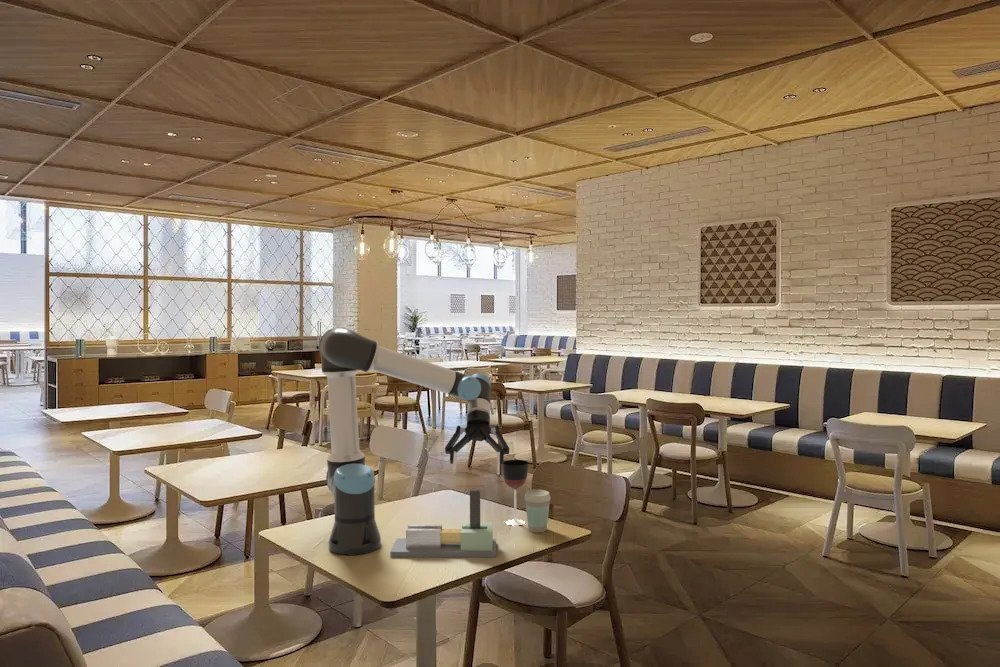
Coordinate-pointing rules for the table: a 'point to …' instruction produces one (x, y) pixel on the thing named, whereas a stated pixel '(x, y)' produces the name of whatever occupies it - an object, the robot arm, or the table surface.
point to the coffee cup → (537, 509)
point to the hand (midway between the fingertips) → (476, 472)
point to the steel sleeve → (423, 536)
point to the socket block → (477, 537)
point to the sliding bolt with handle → (455, 534)
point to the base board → (437, 551)
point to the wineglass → (515, 481)
